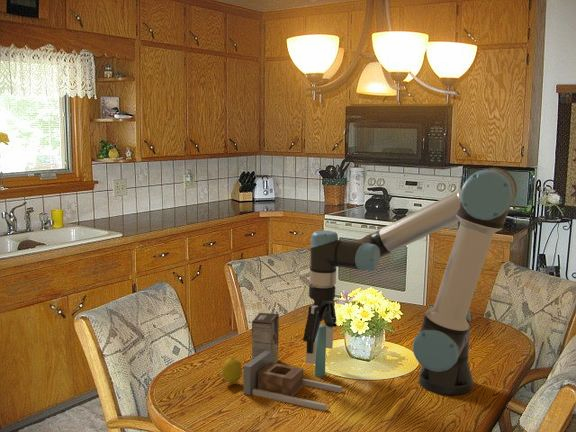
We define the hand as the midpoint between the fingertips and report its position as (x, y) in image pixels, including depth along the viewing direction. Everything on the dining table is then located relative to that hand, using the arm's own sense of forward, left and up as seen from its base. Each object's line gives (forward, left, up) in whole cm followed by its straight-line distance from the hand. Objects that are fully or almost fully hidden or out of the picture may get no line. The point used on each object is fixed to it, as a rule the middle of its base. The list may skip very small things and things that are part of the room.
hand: (319, 355), depth 178 cm
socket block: (+6, +14, -6) cm, 16 cm away
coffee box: (+18, 0, -7) cm, 19 cm away
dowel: (0, 0, -7) cm, 7 cm away
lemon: (+21, +15, -7) cm, 27 cm away
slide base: (+2, +14, -7) cm, 16 cm away
